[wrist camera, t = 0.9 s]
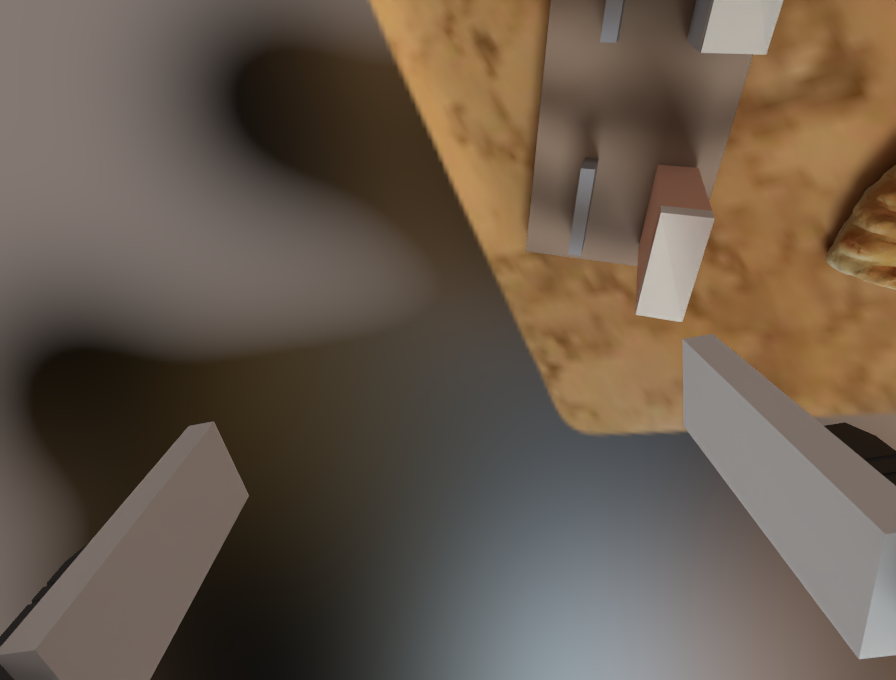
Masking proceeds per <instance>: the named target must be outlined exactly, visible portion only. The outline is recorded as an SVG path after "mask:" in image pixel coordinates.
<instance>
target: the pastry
mask: <svg viewBox="0 0 896 680" xmlns="http://www.w3.org/2000/svg"><path fill="white" fill-rule="evenodd" d="M826 261H827V263H828V264H829V265H830V266H831V267H833V268H835V269H836V270H838V271H841V272H842V273H845V274H848V275H853V276H855V277H857V278H859V279H861V280H863V281H865V282H869V283H873V284H876V285H879V286H883V287H887V288H891V289H895V290H896V165H895V166H894V167H892V168H891V169H889V170H888V171H887V172H885V173H884V174H883V175H882V177H881V178H880V179H879V180H878V181H877V182H876V183H874V184H873V185H871V186H870V187H869V188H867V189H866V190H865V191H864V193H863V196H862V198H861V199H860V200H859V201H858V203H857V204H856V205H855V207H854V209H853V212H852V214H851V215H850V217H849V218H848V219H847V220H846V222H845V223H844V224H843V226H842V228H841V229H840V231H839V233H838V235H837V237H836V238H835V240H834V243H833V245H832V246H831V248H830V249H829V251H828V252H827V255H826Z"/></svg>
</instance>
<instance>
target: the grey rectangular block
mask: <svg viewBox="0 0 896 680" xmlns="http://www.w3.org/2000/svg"><path fill="white" fill-rule="evenodd" d="M782 3H783V0H696V4H695V8H694V12H693V17H692V21H691V25H690V29H689V34H688V38H687V43H689V44H690V45H691V46H693V47H694V48H695V49H696V50H698V51H699V52H700V53H723V54H762V55H766V54H767V51H768V47H769V44H770V41H771V38H772V35H773V32H774V28H775V25H776V22H777V19H778V16H779V12H780V9H781V6H782Z"/></svg>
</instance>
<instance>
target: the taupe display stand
mask: <svg viewBox="0 0 896 680" xmlns="http://www.w3.org/2000/svg"><path fill="white" fill-rule="evenodd" d="M695 4H696V0H551V3H550V13H549V23H548V33H547V43H546V54H545V64H544V74H543V84H542V94H541V104H540V114H539V124H538V134H537V144H536V155H535V165H534V175H533V185H532V195H531V205H530V215H529V225H528V235H527V245H526V251H528V252H536V253H543V254H551V255H558V256H565V257H573V258H580V259H587V260H595V261H602V262H610V263H617V264H624V265H632V266H637V265H638V248H639V243H640V239H641V235H642V230H643V226H644V222H645V218H646V213H647V209H648V205H649V200H650V196H651V192H652V188H653V183H654V179H655V175H656V171H657V166H658V165H669V166H681V167H694V168H699V171H700V174H701V177H702V180H703V183H704V187H705V190H706V193H707V196H708V199H709V200H710V196H711V193H712V190H713V186H714V183H715V180H716V176H717V173H718V170H719V166H720V163H721V160H722V157H723V153H724V150H725V147H726V143H727V140H728V137H729V133H730V130H731V127H732V123H733V120H734V117H735V113H736V110H737V107H738V103H739V100H740V97H741V94H742V90H743V87H744V84H745V80H746V77H747V74H748V70H749V67H750V64H751V60H752V57H753V54H723V53H700V52H699V51H698V50H696V49H695V48H694V47H693V46H691V45H690V44H689V43H687V38H688V34H689V29H690V25H691V21H692V17H693V12H694V8H695Z"/></svg>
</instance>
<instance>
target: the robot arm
mask: <svg viewBox="0 0 896 680" xmlns="http://www.w3.org/2000/svg"><path fill="white" fill-rule="evenodd" d="M683 411H684V427H685V428H686V429H687V431H688V432H689V433H690V435H691V436H692V437H693V439H694V440H695V441H696V443H697V444H698V445H699V447H700V448H701V449H702V451H703V452H704V453H705V455H706V456H707V457H708V459H709V460H710V461H711V463H712V464H713V465H714V467H715V468H716V469H717V471H718V472H719V473H720V475H721V476H722V477H723V479H724V480H725V481H726V483H727V484H728V485H729V487H730V488H731V489H732V491H733V492H734V493H735V495H736V496H737V497H738V499H739V500H740V501H741V503H742V504H743V505H744V507H745V508H746V509H747V511H748V512H749V513H750V515H751V516H752V517H753V519H754V520H755V521H756V523H757V524H758V525H759V527H760V528H761V529H762V531H763V532H764V533H765V535H766V536H767V537H768V539H769V540H770V541H771V543H772V544H773V545H774V547H775V548H776V549H777V551H778V552H779V553H780V555H781V556H782V557H783V559H784V560H785V561H786V563H787V564H788V565H789V567H790V568H791V569H792V571H793V572H794V573H795V575H796V576H797V577H798V579H799V580H800V581H801V583H802V584H803V585H804V587H805V588H806V589H807V591H808V592H809V593H810V595H811V596H812V597H813V599H814V600H815V601H816V603H817V604H818V605H819V607H820V608H821V609H822V611H823V612H824V613H825V615H826V616H827V617H828V619H829V620H830V621H831V622H832V624H833V625H834V627H835V628H836V629H837V631H838V632H839V633H840V634H841V636H842V637H843V639H844V640H845V641H846V643H847V644H848V645H849V647H850V648H851V649H852V651H853V652H854V653H855V655H856V656H857V657H858V659H865V658H873V657H881V656H891V655H896V451H895V450H894V449H892V448H891V447H890V446H888V445H887V444H886V443H884V442H883V441H882V440H880V439H879V438H878V437H876V436H875V435H872V434H870V433H868V432H866V431H863V430H861V429H858V428H856V427H854V426H852V425H849V424H847V423H839V424H833V425H827V426H823V425H822V424H821V423H819V422H818V421H817V420H816V419H815V418H813V417H812V416H811V415H810V414H809V413H807V412H806V411H805V410H804V409H803V408H801V407H800V406H799V405H798V404H797V403H795V402H794V401H793V400H792V399H791V398H789V397H788V396H787V395H786V394H785V393H783V392H782V391H781V390H780V389H778V388H777V387H776V386H775V385H774V384H772V383H771V382H770V381H769V380H768V379H766V378H765V377H764V376H763V375H762V374H760V373H759V372H758V371H757V370H756V369H754V368H753V367H752V366H751V365H750V364H748V363H747V362H746V361H745V360H744V359H742V358H741V357H740V356H739V355H738V354H736V353H735V352H734V351H733V350H732V349H730V348H729V347H728V346H727V345H726V344H724V343H723V342H722V341H721V340H720V339H718V338H717V337H716V336H715V335H714V334H709V335H703V336H698V337H692V338H686V339H683ZM248 496H249V495H248V493H247V491H246V489H245V487H244V484H243V482H242V480H241V478H240V476H239V474H238V472H237V470H236V468H235V465H234V463H233V461H232V459H231V457H230V455H229V453H228V451H227V448H226V446H225V445H224V442H223V440H222V438H221V436H220V434H219V432H218V429H217V427H216V425H215V423H214V422H209V423H204V424H198V425H192V426H189V427H188V428H187V429H186V430H185V431H184V432H183V434H182V435H181V436H180V437H179V438H178V439H177V441H176V442H175V443H174V444H173V445H172V446H171V448H170V449H169V450H168V451H167V452H166V453H165V455H164V456H163V457H162V458H161V459H160V460H159V462H158V463H157V464H156V465H155V467H154V468H153V469H152V470H151V471H150V472H149V473H148V475H147V476H146V477H145V478H144V479H143V480H142V482H141V483H140V484H139V485H138V486H137V487H136V489H135V490H134V491H133V492H132V493H131V494H130V496H129V497H128V498H127V499H126V500H125V502H124V503H123V504H122V505H121V506H120V507H119V509H118V510H117V511H116V512H115V513H114V514H113V516H112V517H111V518H110V519H109V520H108V521H107V523H106V524H105V525H104V526H103V527H102V528H101V530H100V531H99V532H98V533H97V534H96V536H95V537H94V538H93V539H92V540H91V542H89V543H88V544H87V545H85V546H84V547H83V548H82V549H80V550H79V551H78V552H77V553H75V554H74V555H73V556H72V557H71V558H69V559H68V560H67V561H66V562H65V563H64V564H63V565H62V566H61V567H60V568H59V570H58V571H57V572H56V573H55V574H54V575H53V576H52V578H51V579H50V580H49V581H48V582H47V586H46V587H43V588H42V589H41V590H40V591H39V593H38V594H37V595H36V596H35V597H34V598H33V600H32V604H31V605H27V606H26V607H25V609H24V610H23V611H22V612H21V613H20V614H19V616H18V617H17V618H16V619H15V620H14V621H13V622H12V624H11V625H10V626H9V627H8V628H7V629H6V630H5V632H4V633H3V634H2V635H1V636H0V680H150V678H151V676H152V675H153V673H154V671H155V669H156V667H157V665H158V663H159V662H160V660H161V658H162V656H163V654H164V652H165V650H166V649H167V647H168V645H169V643H170V641H171V639H172V637H173V636H174V634H175V632H176V630H177V628H178V626H179V624H180V623H181V621H182V619H183V617H184V615H185V613H186V611H187V610H188V608H189V606H190V604H191V602H192V600H193V598H194V596H195V595H196V593H197V591H198V589H199V587H200V585H201V583H202V582H203V580H204V578H205V576H206V574H207V572H208V570H209V569H210V567H211V565H212V563H213V561H214V559H215V557H216V555H217V553H218V552H219V550H220V548H221V546H222V544H223V543H224V541H225V539H226V537H227V535H228V533H229V531H230V529H231V527H232V526H233V524H234V522H235V520H236V518H237V517H238V515H239V513H240V511H241V509H242V507H243V505H244V503H245V502H246V500H247V498H248Z"/></svg>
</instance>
